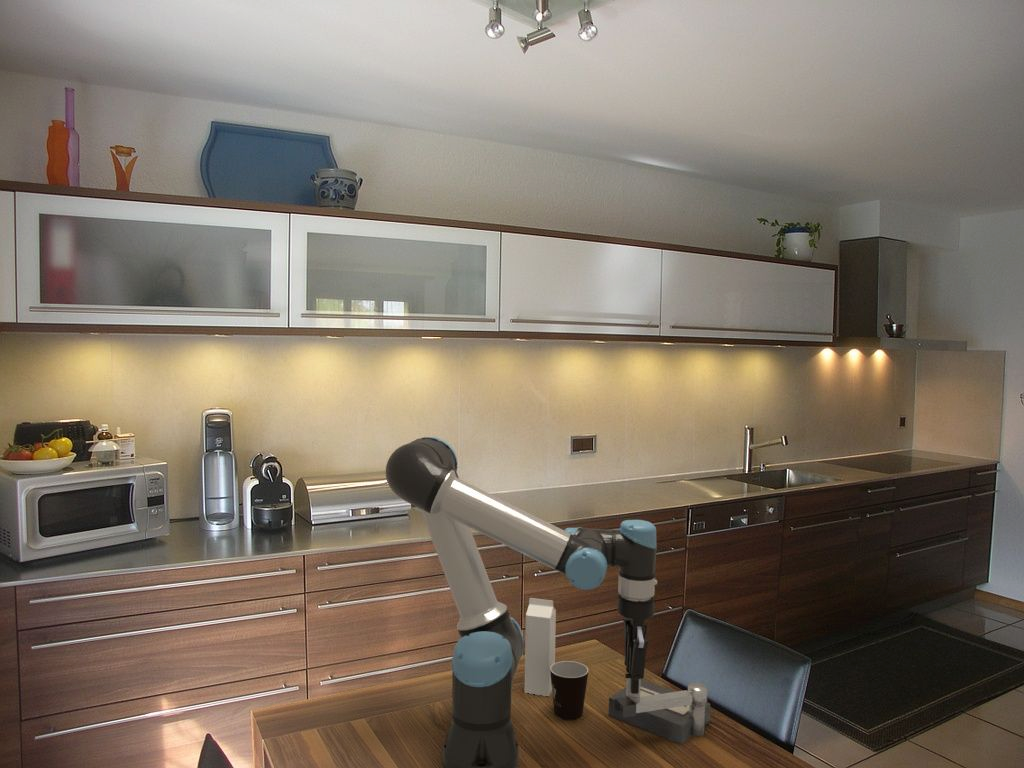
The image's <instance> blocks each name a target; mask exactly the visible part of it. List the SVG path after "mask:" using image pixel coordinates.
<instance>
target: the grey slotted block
mask: <svg viewBox="0 0 1024 768" xmlns="http://www.w3.org/2000/svg"><path fill="white" fill-rule="evenodd" d="M671 692H677V691H676V690H673V689H670V688H667V687H665V686H662V685H659V684H656V683H654V682H651V681H648V680H645V679H641V687H640V697H644V696H650V695H657V694H664V693H671ZM620 697H626V686H625V687H623V688H622V689H620V690H619V691H617V692H616V693H614V694H612V695H611V696H609V697H608V716H609V717H612V718H614V719H617V720H620V721H622V722H625V723H626V724H629V725H632V726H634V727H637V728H639V729H642V730H644V731H647V732H648V733H651V734H654V735H657V736H659V737H661V738H664V739H665V740H668V739H669V741H671V742H674V743H676V744H679V745H684V744H685V743H686V742H687V741H688V740H690V739H691V738H692V737H696V736H701V737H703V736H704V735H705V726H706V725H707V724H709V723H710V722H711V703H709V702H707V703H706V704H705V705H694V704H692V705H686V706H680V707H673V708H667V709H661V710H654V711H648V712H641V713H636V716H632V717H626V718H622V717H621V715H620V714H619V713H618V712H617V711H616V710H615V698H620ZM708 722H709V723H708ZM692 735H694V736H692ZM702 735H703V736H702ZM691 736H692V737H691ZM690 737H691V738H690Z"/></svg>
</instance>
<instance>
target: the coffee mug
mask: <svg viewBox="0 0 1024 768" xmlns="http://www.w3.org/2000/svg"><path fill="white" fill-rule="evenodd" d="M550 674H551V685H552V691H551V693H552V694H551V695H552V704H553V705H552V706H553V712H554V715H555V716H556V717H557V718H558V719H562V720H565V721H574V720H578V719H580V718H582V716H583V713H584V707H585V700H586V691H587V683H588V677H589V668H588V666H587V665H585V664H583V663H581V662H577V661H574V660H573V661H572V660H562V661H557V662H556V661H555V663H554V664H552V665H551V667H550Z"/></svg>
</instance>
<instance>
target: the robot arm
mask: <svg viewBox="0 0 1024 768" xmlns="http://www.w3.org/2000/svg"><path fill="white" fill-rule="evenodd" d="M386 462H387V463H386V465H385V478H386V481H387V484H388V487H389V488H390V490H391V491H392V492H393V493H394V494H395V495H396V496H397V497H398V498H400V499H401V500H403V501H405V502H407V503H409V504H410V505H411V508H412V510H416V511H418V512H420V513H421V514H422V517H423V519H424V523H425V525H426V528H427V531H428V532H429V533H428V534H429V536H430V539H431V542H432V545H433V547H434V549H435V552H436V554H437V557H438V560H439V563H440V565H441V568H442V570H443V573H444V576H445V580H446V581H447V584H448V586H449V589H450V592H451V595H452V597H453V600H454V603H455V606H456V608H457V611H458V614H459V620H458V622H457V624H456V629H457V632H458V634H459V637H460V639H459V640H457V641H456V643H455V645H454V647H453V651H452V654H453V655H452V656H451V669H452V671H451V672H452V674H451V676H452V678H451V679H452V681H451V682H452V684H451V685H452V688H451V689H452V690H451V691H452V692H451V693H452V694H451V696H452V697H451V703H452V704H451V721H450V725H449V728H448V732H447V734H446V738H445V740H444V742H443V746H442V764H443V766H444V768H517V766H518V764H519V761H520V747H519V743H518V741H517V739H516V734H515V731H514V728H513V723H512V718H511V715H512V713H511V711H512V684H513V679H514V676H515V674H516V671H517V668H518V665H519V662H520V660H521V657H522V655H523V653H524V652H523V651H524V636H523V631H522V628H521V626H520V625H519V623H518V622H517V621H516V619H514V617H511V615H510V612H509V609H508V607H507V605H506V604H505V603H502V602H500V601H498V599H497V596H496V595H495V591H494V589H493V585H492V583H491V580H490V578H489V576H488V572H487V570H486V567H485V565H484V562H483V559H482V556H481V553H480V552H479V548H478V546H477V543H476V540H475V537H474V535H473V532H472V530H475V531H476V532H478V533H481V534H482V535H484V536H486V537H489V538H491V539H492V540H494V541H497V542H499V543H500V544H503V545H504V546H506V547H509V548H510V549H513V550H515V551H517V552H518V553H521V554H523V555H525V556H526V557H529V558H531V559H532V560H535V561H537V562H539V563H540V564H543V565H545V566H546V567H549V568H551V569H552V570H555V571H557V572H558V573H560V574H562V575H564V576H566V577H567V580H568V581H569V582H570V583H571V585H572V586H574V587H575V588H576V589H579V590H582V591H588V590H589V591H591V590H593V589H596V588H597V587H599V586H600V585H601V584H602V583H603V581H604V579H605V576H606V574H607V569H608V567H613V568H615V567H618V568H619V569H618V578H617V579H618V581H617V587H618V588H617V589H618V590H617V591H618V595H617V596H618V597H617V612H618V614H619V615H620V616H621V617H623V629H624V630H623V633H624V636H623V637H624V640H623V641H624V666H625V667H626V668H625V671H626V673H625V674H624V675H625V679H626V680H625V681H626V686H625V687H626V697H627V696H628V697H629V698H637V697H640V687H641V679H642V680H644V678H645V668H646V667H645V666H646V656H647V648H648V644H649V641H648V638H646V636H647V632H648V631H647V629H648V627H647V624H645V621H646V620H647V619H651V618H652V617H653V616H654V615H655V598H654V596H655V592H656V591H655V589H656V588H655V586H656V585H658V580H657V579H656V566H657V565H656V564H657V547H658V546H657V528H656V526H655V525H654V523H652V522H650V521H647V520H643V519H625V520H623V521H622V522H620V527H619V529H602V528H601V529H600V528H587V527H580V526H579V527H567V528H565V529H562V528H560V527H559V526H556V525H554V524H552V523H550V522H548V521H546V520H544V519H541V518H539V516H538V517H537V516H535V515H533V514H531V513H529V512H528V511H525V510H523V509H522V508H519V507H518V506H515V505H513V504H511V503H510V502H507V501H505V500H504V499H501V498H499V497H497V496H496V495H493V494H491V493H489V492H487V491H485V490H483V489H481V488H479V487H478V486H474V485H473V484H471V483H468V482H466V481H464V480H463V479H460V478H459V475H458V472H457V471H458V458H457V454H456V452H455V450H454V449H453V447H452V446H451V445H450V444H449V443H448V442H446V441H445V440H443V439H441V438H439V437H435V436H423V437H421V438H417V439H415V440H413V441H410V442H408V443H406V444H403V445H400V446H399V447H398V448H396V449H395V450H394V451H393V452H392V453H391V455H390V456H389V458H388V459H387V461H386ZM471 529H472V530H471Z"/></svg>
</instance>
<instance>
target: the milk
mask: <svg viewBox="0 0 1024 768" xmlns="http://www.w3.org/2000/svg"><path fill="white" fill-rule="evenodd" d="M528 599H529V600H528V603H529V604H528V607H527V610H526V613H525V641H524V642H525V645H524V647H525V648H524V651H525V652H524V653H525V654H524V694H527V693H529V695H533V694H535V696H540V695H542V696H541V697H546V696H548V697H547V698H549V697H550V695H551V693H552V685H551V674H550V667H551V665H552V664H554V663H556V631H557V629H556V624H557V623H556V621H557V620H556V619H557V609H556V608H555V607H554V600H551V599H544V598H543V599H542V598H533V597H530V598H528Z"/></svg>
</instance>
